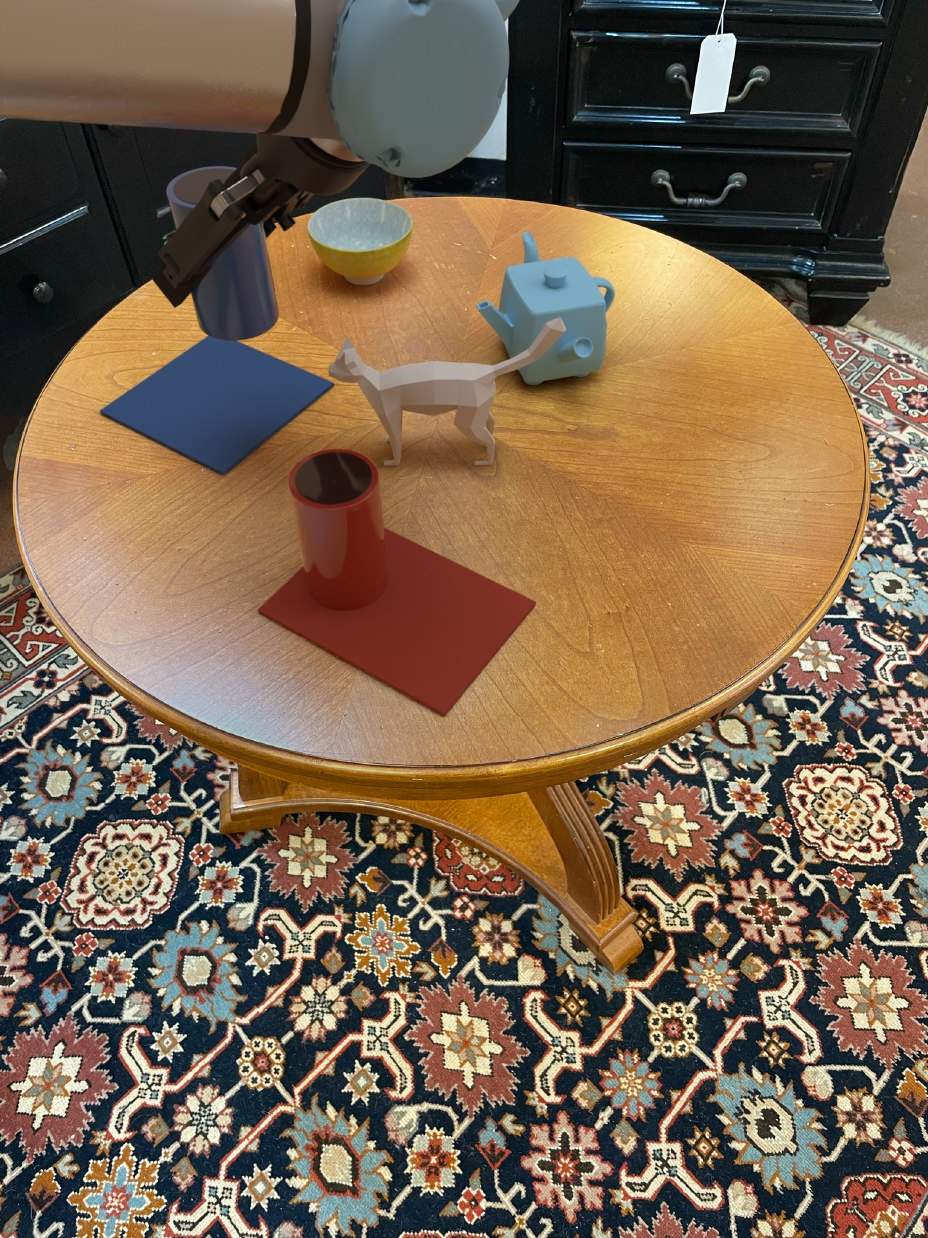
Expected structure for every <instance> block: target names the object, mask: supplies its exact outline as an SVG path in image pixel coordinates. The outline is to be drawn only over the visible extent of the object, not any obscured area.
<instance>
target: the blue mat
mask: <svg viewBox="0 0 928 1238" xmlns="http://www.w3.org/2000/svg"><path fill="white" fill-rule="evenodd" d="M334 386H335V383H334V382H333V381H331V380H329V379H326V378H324V377H322V376H319V375H317V374H316V373H315V374H314V373H312V372H310V371H307V370H305V369H303V368H300V367H298V366H296V365H294V364H291V363H290V362H287V361H285V360H282V359H280V358H277V357H275V356H273V355H270V354H268V353H266V352H264V351H262V350H260V349H257V348H254V347H253V346H250V345H248V344H245V343H243V342H241V341H226V340H219V339H215V338H213V337H210V336H208V335H207V336H206V337H204V338H203V339H201V340H200V341H198V342H197V343H195V344H194V345H192V346H191V347H189V348H188V349H187V350H185V351H184V352H182V353H181V354H180V355H178V356H176V357H175V358H174V359H172V360H170V361H169V362H168V363H166V364H165V365H164V366H162V367H161V368H159V369H158V370H157V371H155V372H154V373H152V374H151V375H149V376H148V377H146V378H145V379H143V380H142V381H140V382H139V383H137V384H136V385H135V386H133V387H131V388H130V389H129V390H127V391H126V392H124V393H123V394H122V395H120V396H119V397H117V398H116V399H115V400H113V401H112V402H110V403H109V404H107V405H106V406H104V407H103V408H100V410H99V413H100V415H102V416H105V417H106V418H108V419H110V420H112V421H114V422H115V423H118V424H120V425H122V426H124V427H126V428H128V429H130V430H132V431H134V432H136V433H138V434H140V435H142V436H144V437H145V438H148V439H150V440H152V441H154V442H156V443H158V444H160V445H162V446H164V447H166V448H168V449H169V450H171V451H174V452H176V453H178V454H180V455H182V456H184V457H186V458H187V459H190V460H192V461H193V462H196V463H198V464H200V465H202V466H203V467H205V468H207V469H210V471H211V470H212V471H213V472H216V473H217V474H219V475H221V476H225V475H226V474H227V473H229V472H230V471H231V470H233V468H234V467H236V466H237V465H238V464H239V463H241V462H242V461H244V460H245V459H246V458H247V457H248V456H249V455H251V454H252V453H253V452H254V451H256V450H257V449H258V448H259V447H260V446H263V444H264V443H266V442H267V441H268V440H269V439H270V438H272V437H273V436H274V435H275V434H276V433H278V432H279V431H281V430H282V429H283V428H284V427H285V426H287V425H288V424H289V423H290V422H292V420H294V419H295V418H297V416H299V415H300V414H301V413H302V412H304V411H305V410H306V409H308V408H309V407H310V406H311V405H312V404H314V403H315V402H316V401H317V400H318V399H320V398H321V397H322V396H324V395H325V394H326V393H327V392H329V390H331V389H332V388H333V387H334Z"/></svg>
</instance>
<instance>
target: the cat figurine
mask: <svg viewBox="0 0 928 1238" xmlns="http://www.w3.org/2000/svg"><path fill="white" fill-rule="evenodd" d="M565 330H566V327H565V325H564V323H563V321H562V319H561V317H559V318H556V319H554V320H551V321H549V322H547V323H546V324H545V326H544V327H543V329H542V330H541V332H540V333H539V335H538V336H537V338H536V339H535V341H534V342H533V343H532V345H531V346H530V348H529V349H527V350H526V351H524V352H522V353H520V354H519V355H517V356H515V357H513V358H509V359H506V360H503V361H501V362H498V363H496V364H486V363H477V362H455V361H454V362H453V361H442V360H430V361H424V362H415V363H409V364H402V365H399V366H395V367H392V368H388V369H385V370H381V371H380V370H378V369H375V368H374V367H372V366H370V365H368V364H365V362H364V361H363V360H362V358H361V356H360V355H359V353H358V351H357V348H356V347H355V345H354V344H353V342H352V341H351V339H350V338H349V337H348V336H347V335H345V339H344V341H343V344H342V346H341V350H340V351H339V352H338V353H337V356H336V358H335V360H334V361H333V362H332V363H330V364H329V365H328V376H329V377H330V378H332V379H335V380H337V381H338V382H341V383H347V384H355V383H357V384H358V386H359V388H360V390H361V391H362V393H363V394H364V396H365V398H366V400H367V401H368V403H369V405H370V406H371V408H372V409H373V410H374V412H375V414H376V416H377V417H378V419H379V421H380V423H381V425H382V427H383V428H384V430H385V432H386V434H387V436H386V437H385V439H384V440H385V441H384V442H385V443H390V447H391V450H392V454H393V458H394V459H389V460H388V459H387V460H384V461H383V466H388V467H389V466H400V463H401V457H402V440H403V439H402V438H403V436H402V435H403V434H402V433H403V430H402V429H403V414H404V412H409V413H414V414H420V415H426V416H432V417H435V416H439V415H444V414H446V413H449V412H452V411H456V412H455V416H454V421H453V422H454V423H453V424H454V426H455V427H456V428H457V429H458V430H459V431H460V432H461V433H462V434H463V435H465V436H466V438H467V439H469V440H471V441H473V442H476V443H478V444H480V445H483V446H485V447H486V451H487V459H486V460H474V461H473V462H474V466H492V465H493V463H494V461H495V455H496V445H497V444H496V440H495V438H494V436H493V435H494V427H495V417H494V416H493V414H492V412H491V409H492V407H493V403H494V401H495V398H496V393H497V386H496V381H495V380H496V377H499V376H502V375H505V374H508V373H510V372H514V371H518V369H520V368H522V367H524V366H526V365H528V364H530V363H532V362H534V361H536V360H539V359H540V358H541V357H542V356H543V354H544V353H545V352H546V351H547V350H548V349H549V348H550V347H551V346H552V345H553V344H554V343H555V342H556V341H557V340H558V339H559V337H560V336H561V335H562V334H563V333H564V332H565Z"/></svg>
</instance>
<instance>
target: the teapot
mask: <svg viewBox="0 0 928 1238" xmlns="http://www.w3.org/2000/svg"><path fill="white" fill-rule="evenodd" d="M522 242H523V248H524V249H523V250H524V251H523V252H524V254H523V255H524V256H523V263H519V264H513V265H510V266H509V265H508V266H507V267H506V268H505V272H504V276H503V280H502V286H501V292H500V298H499V304H498V305H499V306H498V308H497V307H496V306H495V305H494V304H493V303H491V302H490V300H489V299H486V300H484V301H481V302H478V303H476V304H475V307H476V309H477V310H478V312H479V314H481V316H482V317H483V318H484V320H485V321H486V322H487V323H488V324H489V326H490V327H491V328H492V329H493V331H494V332H495V333H496V334H497V336H499V338H500V339H501V341H502V342H503V345H504V347H505V350H506V352H507V354H508V356H509V359H511V358H513V357H515V356H517V355H519V354H520V353H522V352H524V351H526V350H527V349H529V348H530V346H531V345H532V343H533V342H534V341H535V339H536V338H537V336H538V335H539V333H540V332H541V330H542V329H543V327H544V326H545V324H546V323H547V322H549V321H551V320H554V319H556V318H559V317H561V319H562V321H563V323H564V325H565V327H566V330H565V332H564V333H563V334H562V335H561V336H560V337H559V339H558V340H557V341H556V342H555V343H554V344H553V345H552V346H551V347H550V348H549V349H548V350H547V351H546V352H545V353H544V354H543V356H542V357H541V358H540V359H539V360H536V361H534V362H532V363H530V364H528V365H526V366H524V367H522V368H520V369H517V371H518V372H519V374H520V375H521V377H522V380H523V381H524V383H525V384H526V385H527V384H528V385H531V386H537V385H541V384H542V383H543V382H544V381H550V380H558V379H563V378H569V377H577V378H583V377H586V376H588V375H589V374H590V373H594V372H598V371H600V370H601V368H602V366H603V363H604V360H605V355H606V347H607V346H606V345H607V330H608V322H607V312H608V311H609V310H610V308H611V306H612V304H613V302H614V300H615V296H616V290H615V287H614V285H613V284H612V283H611V281H609V280H608V279H607V278H605V277H601V276H594V277H592V275H591V274H590V272H589V271H588V269H586V267H584V265H583V264H582V263H581V262H580V261H579V260H578V259H577V258H576V257H575V256H566V257H558V258H552V259H551V258H550V259H544V260H543V259H542V260H540V255H539V251H538V246H537V242H536V239H535V237H534V235H533V234H532V233H531V232H529V231H524V232H523V233H522ZM600 288H605V290H606V291H605V294H604V295H603V293H602V292H601V289H600Z"/></svg>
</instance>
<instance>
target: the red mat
mask: <svg viewBox="0 0 928 1238" xmlns="http://www.w3.org/2000/svg"><path fill="white" fill-rule="evenodd" d="M384 535H385V546H386V557H387V568H388V583H387V586H386V588H385V590H384V592H383V593H382V594H381V596H380V597H379V598H377V599H376V600H375V601H374V602H372V603H370V604H368V605H366V606H364V607H361V608H357V609H352V610H337V609H332V608H329V607H326V606H324V605H322V604H320V603H319V602H317V601H316V600H315V599H314V598H313V597H312V595H311V594H310V592H309V590H308V586H307V581H306V576H305V571H304V565H303V566H302V567H301V568H300V569H299V570H298V571H297V572H296V573H294V574H293V575H292V576H291V578H289V579H288V580H287V581H286V582H285V583H284V584H283V585H282V586H280V588H279V589H278V590H276V592H274V593H273V594H272V595H271V596H270V597H269V598H268V599H267V600H266V601H265V602H264V603H263V604H262V605H261V606H259V608H258V609H257V613H259V614H260V615H262V616H264V617H265V618H266V619H269V620H271V621H273V622H274V623H276V624H277V625H279V626H282V627H283V628H284V629H287V630H288V631H290V632H292V633H294V634H296V635H297V636H299V637H301V638H303V639H305V640H306V641H308V642H310V643H312V644H314V646H315V645H316V646H317V647H319V648H321V649H322V650H324V651H326V652H327V653H330V654H331V655H333V656H335V657H337V658H338V659H341V660H342V661H344V662H346V663H347V664H349V665H351V666H353V667H355V668H356V669H358V670H361V671H362V672H363V673H365V674H367V675H368V676H371V677H372V678H374V679H376V680H378V681H380V682H381V683H384V684H385V685H386V686H388V687H390V688H392V689H394V690H395V691H397V692H398V693H401V694H403V695H404V696H405V697H406V696H407V697H408V698H410V699H412V700H413V701H415V702H417V703H419V704H420V705H422V706H424V707H425V708H428V709H429V710H431V711H432V712H434V713H436V714H438V715H440V716H442V717H443V718H444V717H446V716H447V714H448V713H449V712H450V711H451V709H452V708H453V707H454V705H455V704H456V703H457V702H458V701H459V699H460V698H462V695H464V694H465V692H466V691H467V690H468V689H469V687H470V686H471V685H472V684H473V683H474V681H475V680H476V679H477V677H478V676H479V675H480V674H481V673H482V672H483V670H484V669H485V668H486V667H487V665H488V664H489V663H490V662H491V660H492V659H493V658H494V657H495V655H496V654H497V653H498V652H499V650H501V648H502V647H503V646H504V644H505V643H506V642H507V641H508V640H509V639H510V638H511V636H512V634H513V633H514V632H515V631H516V630H517V629H518V627H519V626H520V625H521V624H522V622H524V621H525V619H526V618H527V616H528V615H529V614H530V613H531V612H532V610H533V609H534V608H535V607H536V605H537V601H536V600H534V599H531V598H530V597H527V596H525V595H524V594H522V593H519V592H517V591H515V590H513V589H511V588H509V587H506V586H505V585H504V584H501V583H498V582H497V581H494V580H493V579H490V577H489V578H488V577H486V576H484V575H482V574H480V573H478V572H476V571H474V570H472V569H470V568H468V567H466V566H464V565H462V564H460V563H458V562H456V561H454V560H452V559H449V558H447V557H445V556H443V555H442V554H441V553H437V552H435V551H433V550H431V549H429V548H427V547H425V546H423V545H421V544H419V543H417V542H415V541H413V540H411V539H409V538H407V537H405V536H402V535H400V534H399V533H396V532H394V531H393V530H390V529H389V528H386V527H384Z"/></svg>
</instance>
